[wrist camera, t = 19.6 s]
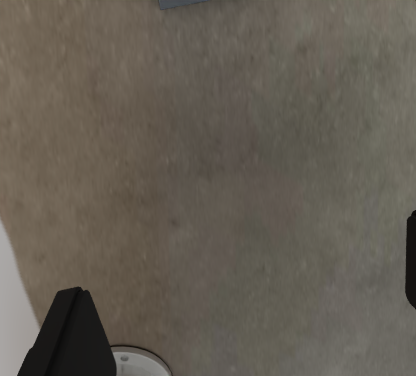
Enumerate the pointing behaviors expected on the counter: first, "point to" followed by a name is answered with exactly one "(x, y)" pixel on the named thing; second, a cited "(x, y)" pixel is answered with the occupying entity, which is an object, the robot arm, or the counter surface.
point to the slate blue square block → (176, 3)
